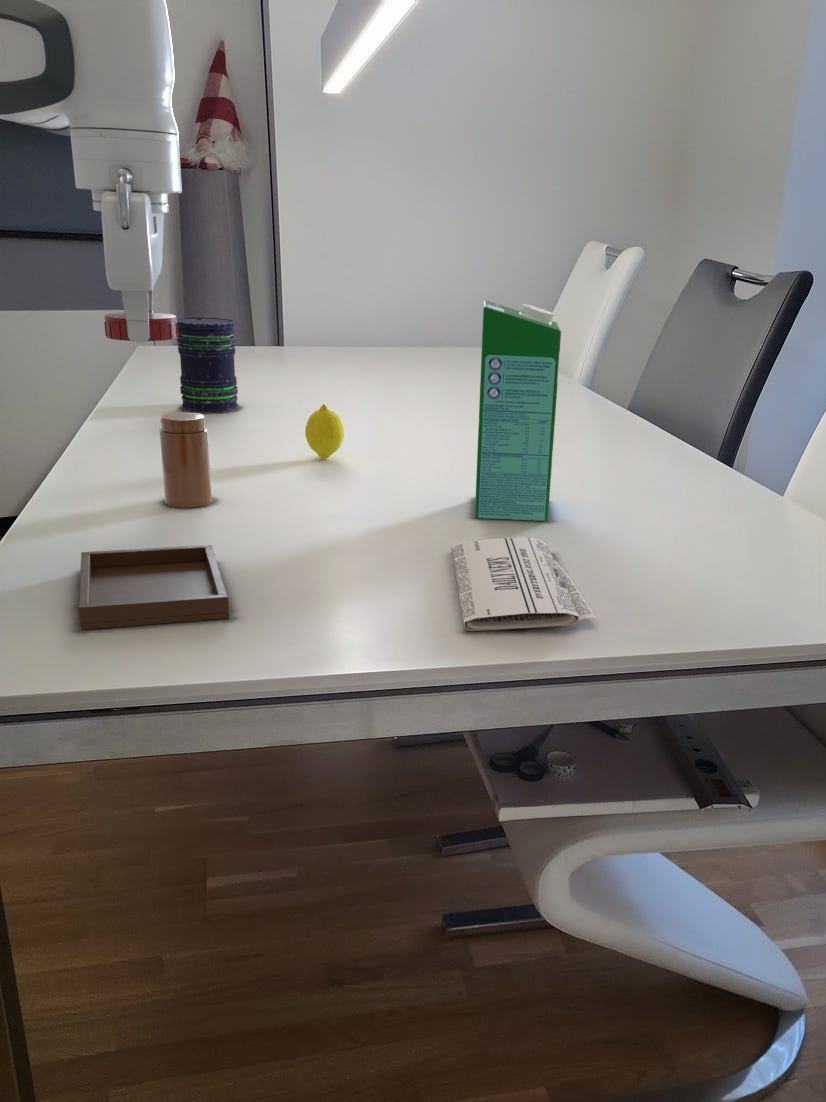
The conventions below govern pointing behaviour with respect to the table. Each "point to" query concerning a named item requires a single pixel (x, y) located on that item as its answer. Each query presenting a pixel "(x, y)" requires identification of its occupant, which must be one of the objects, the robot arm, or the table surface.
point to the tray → (150, 587)
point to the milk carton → (516, 412)
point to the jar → (185, 460)
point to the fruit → (324, 432)
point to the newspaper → (514, 586)
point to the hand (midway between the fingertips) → (141, 335)
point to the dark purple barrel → (207, 364)
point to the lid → (158, 325)
